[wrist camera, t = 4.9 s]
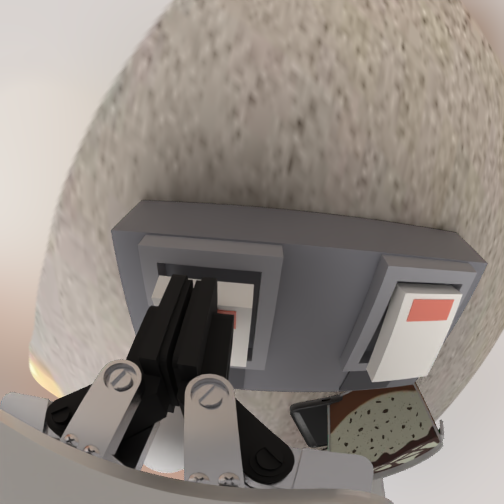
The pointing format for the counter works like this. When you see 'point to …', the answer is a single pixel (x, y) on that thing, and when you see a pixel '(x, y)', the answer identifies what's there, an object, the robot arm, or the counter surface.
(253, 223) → the rocker switch panel
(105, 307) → the counter surface
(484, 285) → the counter surface
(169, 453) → the light bulb
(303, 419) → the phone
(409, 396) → the food container
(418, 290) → the rocker
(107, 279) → the counter surface
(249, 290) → the rocker
